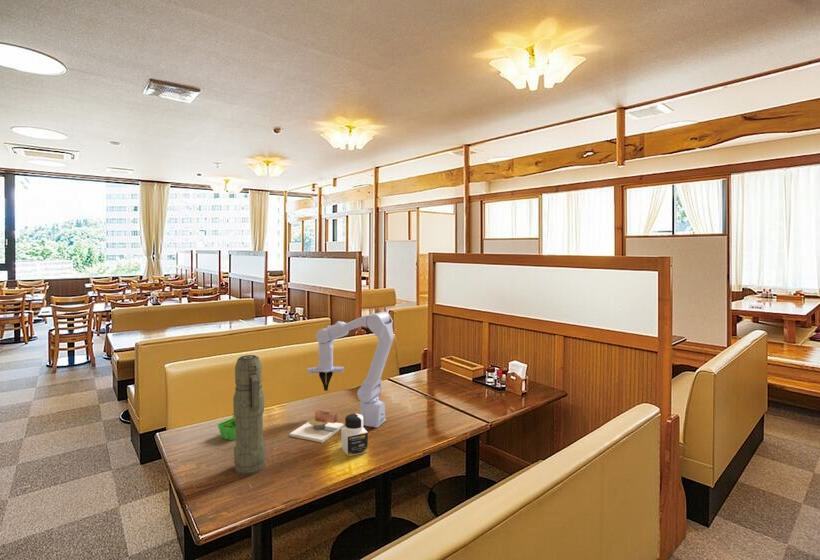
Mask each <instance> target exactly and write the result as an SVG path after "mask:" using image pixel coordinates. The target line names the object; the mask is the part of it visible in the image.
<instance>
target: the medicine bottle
mask: <svg viewBox="0 0 820 560" xmlns="http://www.w3.org/2000/svg"><path fill="white" fill-rule="evenodd" d="M340 431H341V432H340V436H341V437H340V438H341V439H340V440H341V441H340V445H341V446H340V447H341V450H342V451H343V452H344V453H345V455H346V456H347V457H352V456H357V455H361V454H365V453H368V447H369V446H368V444H369V442H368V441H369V440H368V438H369V437H368V435H369V433H368V432H369V431H367V430H366V428H365V427H364V425H363V416H362V415H360V413H350V414H348V415H346V416H345V421H344V427H343V428H341V429H340Z"/></svg>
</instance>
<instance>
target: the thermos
mask: <svg viewBox="0 0 820 560" xmlns="http://www.w3.org/2000/svg"><path fill="white" fill-rule="evenodd" d="M262 368H263V367H262V363H261V360H260V358H259V356H256V355H254V354H247V355H241V356H240V357H237V360H236V363H235V366H234V383H235V389H234V390H235V391H234V394H233V399H232V403H233V413H234V416H235V424H236V439H235V446H234V449H233V462H234V471H235V473H236V474H237V473H238V475H240V476H251V475H253V474H254V473H255V474H257V473H260V472H261V471H262V470H263V469H264V468H265V466H266V465H265V459H266V445H265V442H264V426H263V425H264V423H263V422H264V421H263V420H264V417H263V415H264V411H265V393H264V391H263V388H262V386H263V385H262V381H263V378H262V376H263V373H262V371H263V370H262Z"/></svg>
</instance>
